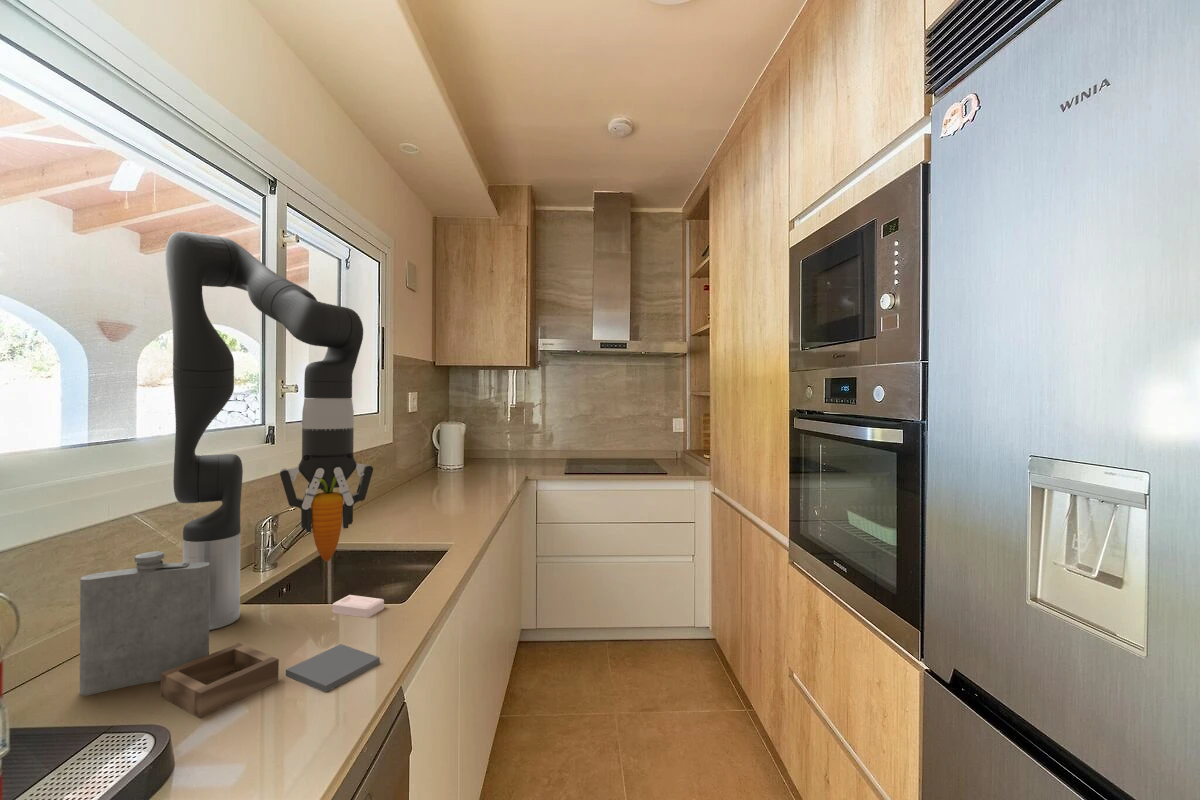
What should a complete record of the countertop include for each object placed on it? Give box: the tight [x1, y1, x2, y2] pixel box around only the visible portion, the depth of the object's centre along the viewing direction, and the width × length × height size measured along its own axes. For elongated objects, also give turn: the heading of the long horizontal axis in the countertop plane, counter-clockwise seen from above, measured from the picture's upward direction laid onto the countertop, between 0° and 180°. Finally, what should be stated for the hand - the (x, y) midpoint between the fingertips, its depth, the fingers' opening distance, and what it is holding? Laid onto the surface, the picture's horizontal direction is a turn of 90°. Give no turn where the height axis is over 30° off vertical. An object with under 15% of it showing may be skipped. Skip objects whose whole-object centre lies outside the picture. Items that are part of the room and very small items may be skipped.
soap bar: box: [332, 594, 385, 618], centre depth 111 cm, size 5×9×2 cm, turn 76°
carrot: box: [310, 476, 344, 563], centre depth 86 cm, size 5×5×15 cm
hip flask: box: [79, 550, 210, 696], centre depth 84 cm, size 16×4×20 cm, turn 117°
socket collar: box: [160, 642, 279, 719], centre depth 81 cm, size 11×11×4 cm
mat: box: [285, 643, 381, 693], centre depth 88 cm, size 10×10×1 cm
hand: (327, 528), depth 86 cm, fingers closed on carrot, 4 cm apart
